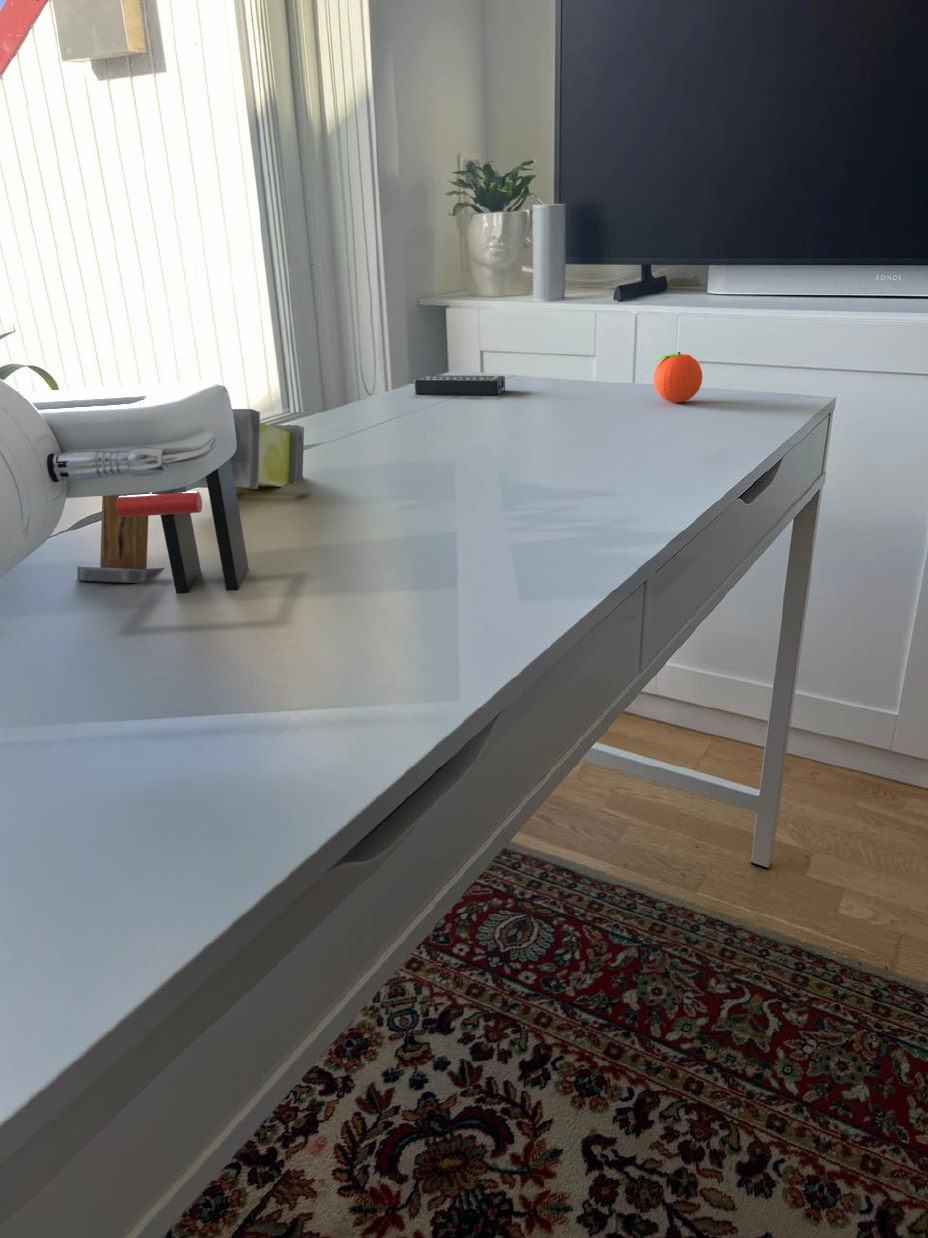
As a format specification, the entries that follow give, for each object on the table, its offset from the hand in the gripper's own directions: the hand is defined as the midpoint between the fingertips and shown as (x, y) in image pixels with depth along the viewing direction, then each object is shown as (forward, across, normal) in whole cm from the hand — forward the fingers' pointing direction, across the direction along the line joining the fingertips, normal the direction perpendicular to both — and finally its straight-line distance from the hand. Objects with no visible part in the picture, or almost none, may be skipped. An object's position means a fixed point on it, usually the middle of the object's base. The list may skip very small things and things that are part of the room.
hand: (70, 408), depth 50 cm
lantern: (+38, +5, +20) cm, 43 cm away
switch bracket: (+20, 0, +20) cm, 28 cm away
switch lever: (+16, 0, +8) cm, 18 cm away
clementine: (+85, -52, +20) cm, 102 cm away
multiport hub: (+103, -21, +20) cm, 107 cm away
